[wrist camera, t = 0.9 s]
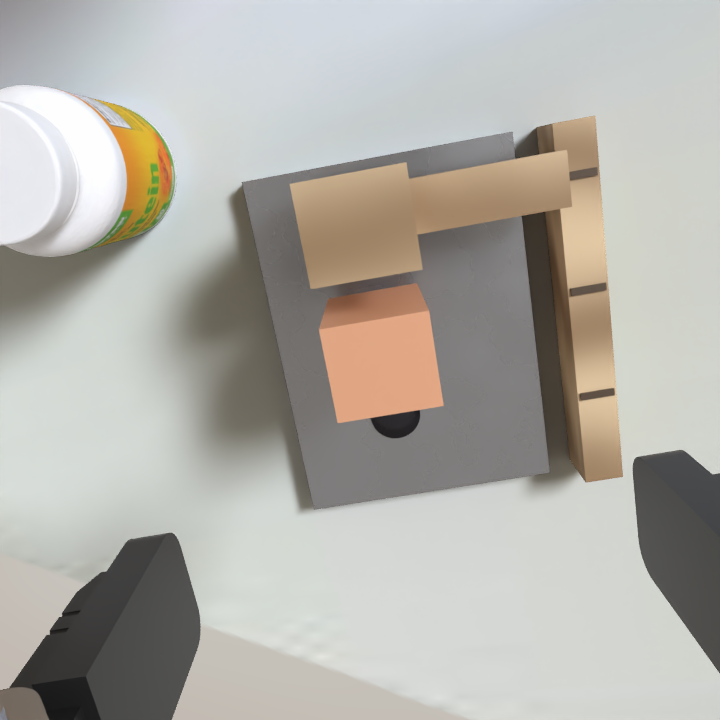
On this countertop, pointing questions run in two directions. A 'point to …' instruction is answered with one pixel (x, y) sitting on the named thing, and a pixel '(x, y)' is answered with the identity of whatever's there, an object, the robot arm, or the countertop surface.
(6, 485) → the countertop surface
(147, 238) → the countertop surface
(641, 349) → the countertop surface
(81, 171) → the supplement bottle
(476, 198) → the gauge rule
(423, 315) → the block
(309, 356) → the bolt plate
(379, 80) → the countertop surface
